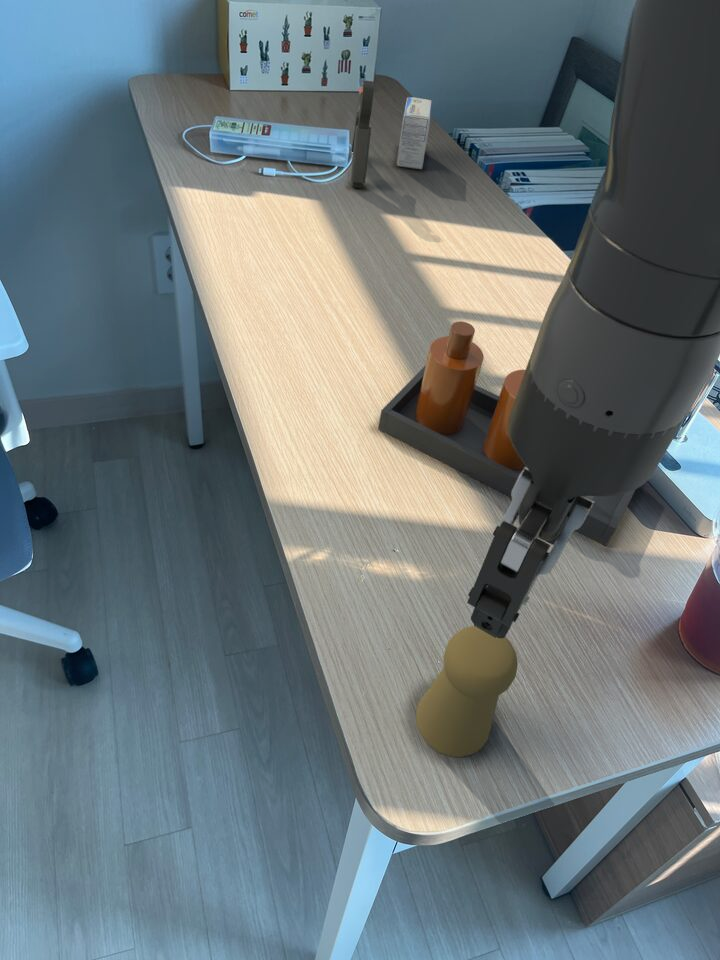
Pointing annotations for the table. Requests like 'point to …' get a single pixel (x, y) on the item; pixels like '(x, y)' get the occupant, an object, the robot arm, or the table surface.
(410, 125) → the medicine box
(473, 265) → the table surface
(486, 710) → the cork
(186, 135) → the table surface
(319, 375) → the table surface
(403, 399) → the tray
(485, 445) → the amber bottle middle
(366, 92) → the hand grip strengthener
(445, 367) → the amber bottle far
